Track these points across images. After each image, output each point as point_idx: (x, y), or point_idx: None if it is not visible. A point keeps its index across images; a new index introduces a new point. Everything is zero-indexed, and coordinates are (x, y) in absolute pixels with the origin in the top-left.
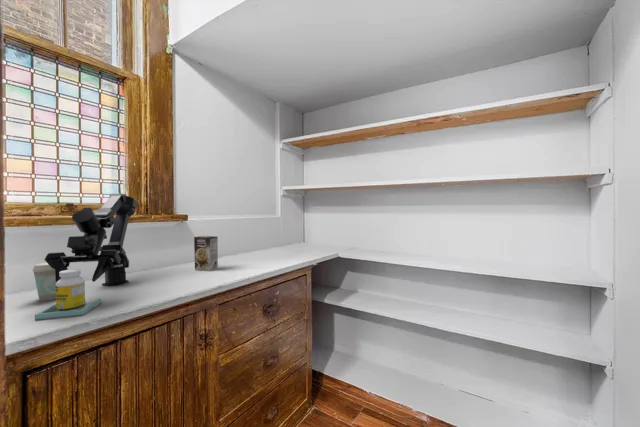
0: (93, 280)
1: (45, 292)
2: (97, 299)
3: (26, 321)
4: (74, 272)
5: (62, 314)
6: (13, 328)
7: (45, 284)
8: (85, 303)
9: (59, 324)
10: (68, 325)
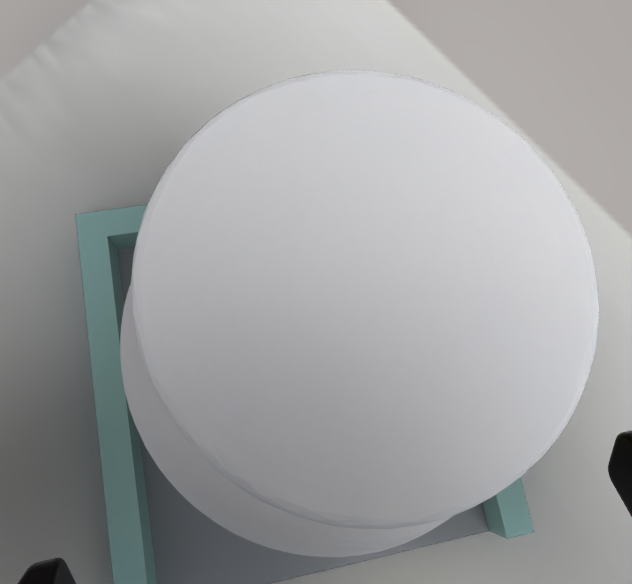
0: (41, 569)
1: None
2: (134, 575)
3: None
4: (175, 180)
5: None
6: (436, 59)
7: None
8: (284, 571)
9: (155, 71)
10: (69, 40)
